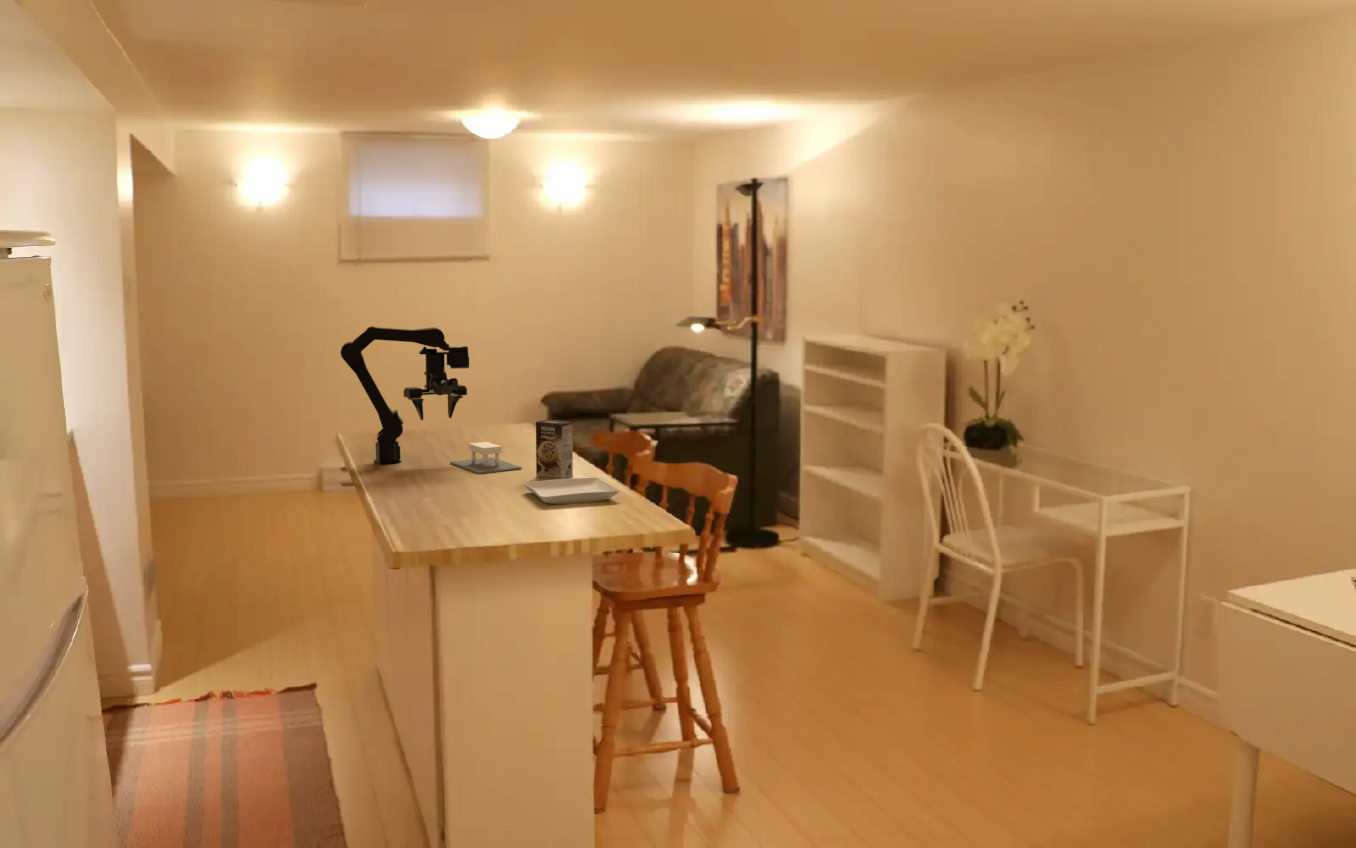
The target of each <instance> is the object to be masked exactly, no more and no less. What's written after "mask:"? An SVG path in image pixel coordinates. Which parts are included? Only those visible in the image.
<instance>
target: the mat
mask: <svg viewBox="0 0 1356 848" xmlns="http://www.w3.org/2000/svg"><path fill="white" fill-rule="evenodd" d="M449 463H450V465H452V464H453V465H452V466H456V467H457V468H461V467H462V468H461V469H463V468H464V469H463V470H466V471H468V472H472V473H474V474H478V475H481V474H482V475H483V474H484V473H485V474H491V473H500V472H501V473H502V472H509V471H517V470H518V471H519V470H522V466H519V465H516V464H513V463H510V462H508V461H504V460H500V459H499V466H495V457H488V462H487V468H484V467H483V457H482V458H476V463H474V464H473V463H472V459H466V460H465V459H464V460H456V461H450V462H449Z"/></svg>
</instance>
